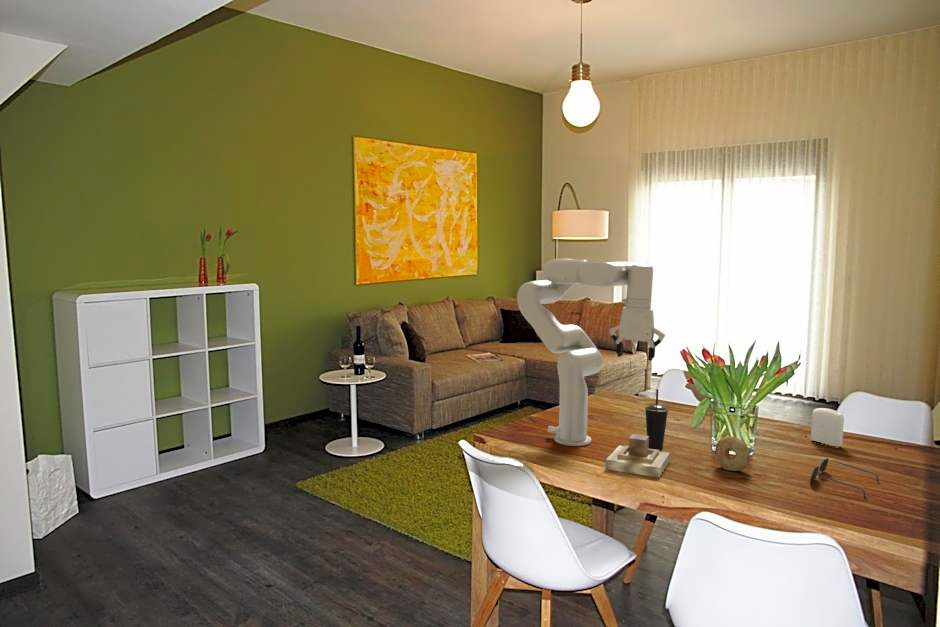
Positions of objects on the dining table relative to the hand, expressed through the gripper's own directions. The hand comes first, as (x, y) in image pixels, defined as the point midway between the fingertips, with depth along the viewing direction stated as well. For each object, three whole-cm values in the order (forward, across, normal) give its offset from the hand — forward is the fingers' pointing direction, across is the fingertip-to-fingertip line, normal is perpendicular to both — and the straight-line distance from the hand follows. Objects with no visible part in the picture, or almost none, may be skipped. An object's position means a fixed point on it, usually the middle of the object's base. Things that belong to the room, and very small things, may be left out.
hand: (635, 357), depth 217 cm
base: (+32, +5, -7) cm, 33 cm away
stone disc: (+32, +31, +2) cm, 44 cm away
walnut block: (+29, +5, -7) cm, 30 cm away
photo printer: (+31, +56, +46) cm, 79 cm away
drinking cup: (+32, +6, +13) cm, 35 cm away
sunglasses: (+31, +61, +6) cm, 68 cm away
